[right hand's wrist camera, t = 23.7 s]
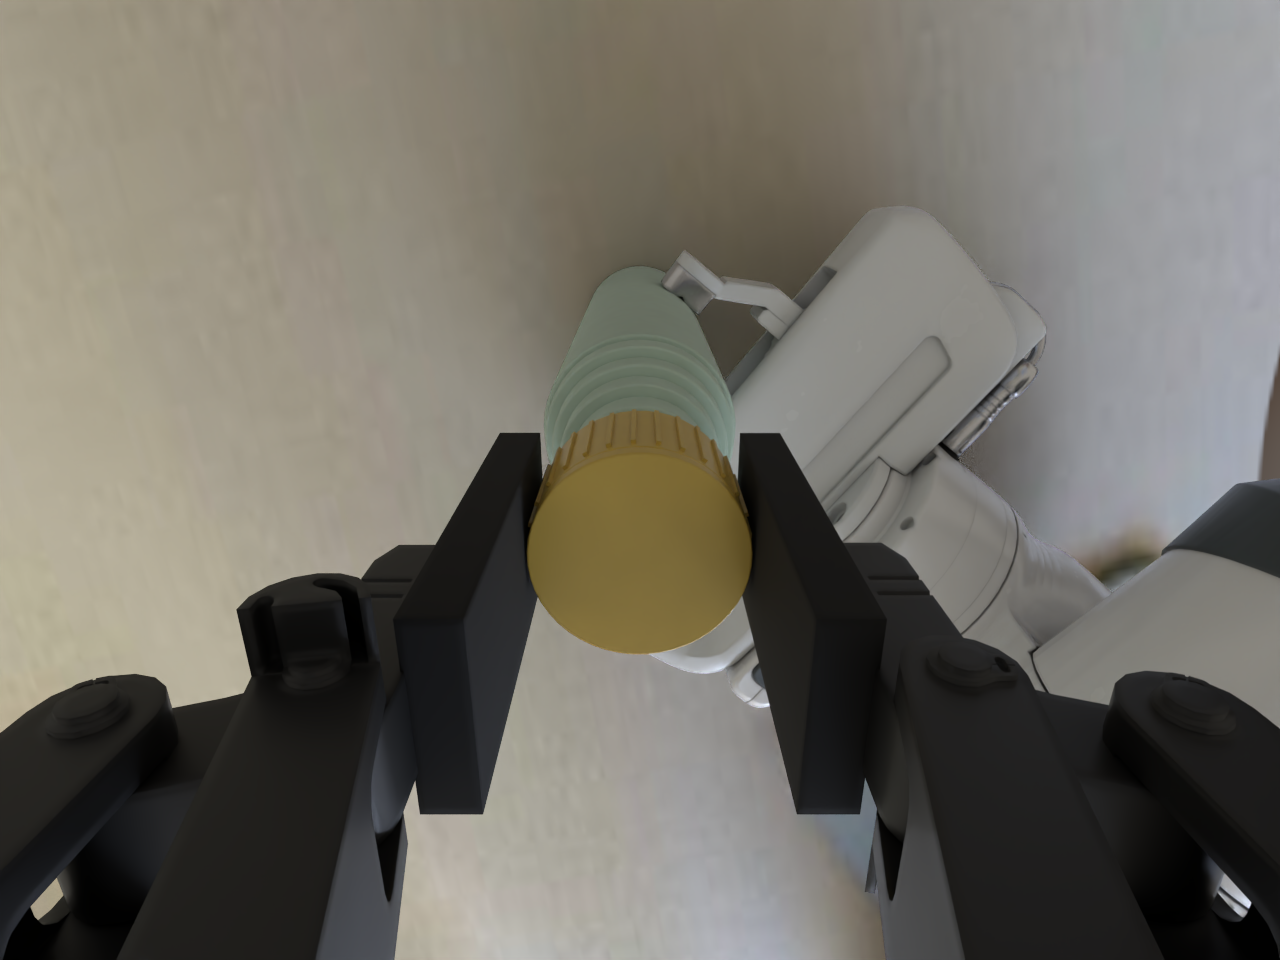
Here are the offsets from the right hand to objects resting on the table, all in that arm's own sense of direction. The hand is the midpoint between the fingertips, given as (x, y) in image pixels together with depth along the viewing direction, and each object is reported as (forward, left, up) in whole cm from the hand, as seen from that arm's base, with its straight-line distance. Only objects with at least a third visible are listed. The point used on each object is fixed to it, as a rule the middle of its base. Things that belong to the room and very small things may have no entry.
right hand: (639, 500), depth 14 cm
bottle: (0, 0, -22) cm, 22 cm away
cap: (0, 0, +2) cm, 2 cm away
